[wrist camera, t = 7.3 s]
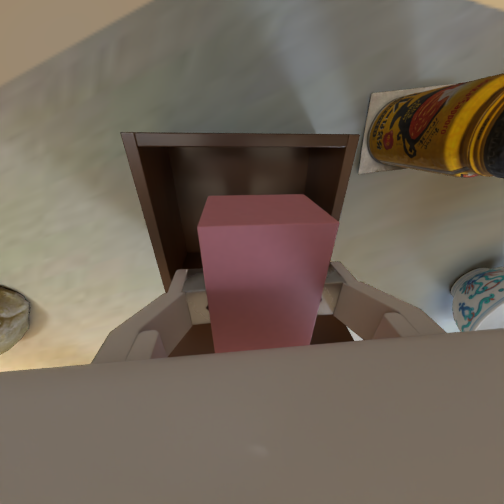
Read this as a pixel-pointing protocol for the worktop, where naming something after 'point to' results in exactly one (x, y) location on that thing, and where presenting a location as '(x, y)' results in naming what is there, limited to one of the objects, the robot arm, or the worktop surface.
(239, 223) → the pink rectangular block
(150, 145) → the chest
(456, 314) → the chinaware
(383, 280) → the worktop surface
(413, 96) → the condiment
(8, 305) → the pastry
